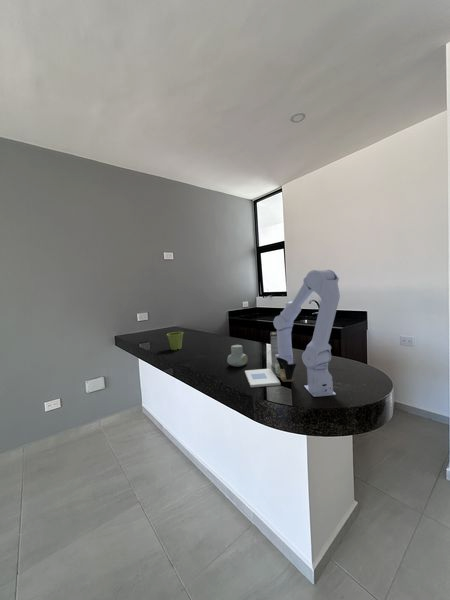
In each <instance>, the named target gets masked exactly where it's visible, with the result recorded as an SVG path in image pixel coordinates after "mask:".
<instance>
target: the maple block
mask: <svg viewBox="0 0 450 600" xmlns="http://www.w3.org/2000/svg"><path fill="white" fill-rule="evenodd" d="M279 375H280V380H281V381H282V382H283V383H286V382H293V381H294V377H292V380H287V379H286V376H285V371H284V369H280V374H279Z"/></svg>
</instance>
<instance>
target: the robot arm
mask: <svg viewBox="0 0 450 600" xmlns="http://www.w3.org/2000/svg"><path fill="white" fill-rule="evenodd" d="M339 279H340V278H339V276H338V275H337V274H336V273H335V272H334V271H333V270H331V269H326V270H318V269H317V270H316V269H312V270H310V271H308V273H306V276H305V277H304V278H303V282H302V285H301V287H300V288H299V290H298V292H297V293H296V295H295V297H294V298H293V301H289V302H287V303H286V304H285V307H284V309H283V310H282V311H280V314H279V315H277V316H275V317H274V319H273V326H274V329H276V332H277V341H278V355H276V359H277V361H278V363H279V366H280V369H284V371H285V376H286V379H287V380H292V377H293V375H294V370H295V369H296V366H297V362H296V361H294V359H293V358H294V354H293V347H292V346H293V345H292V332H293V327H294V324H295V323H294V321H295V320H296V319H297V317H298V315H299V314H300V313H301V311H302V307H301V306H302V305H303V304H304V302H306V300H307V299H308V298H309V297H310V296H311V294H313V292H314V293H316V294H317V295H318V296H319V298H320V299H321V300H320V305H319V307H318V314H317V317H316V321H315V326H314V331H313V335H312V338H311V341H310V342H309V343H308V344H307V345H306V348H305V350H304V351H303V352H302V354H301V360H302V362H303V364H304V365H305V368H306V372H307V373H306V375H307V376H306V377H307V385H304V386H303V387H304V388H305V389H306V390H307V391H308V392H309V394H311V396H313V398H314V397H316V398H317V397H327V396H336V395H337V394H336V392H335V391H334V386H333V384H334V383H333V376H332V374H331V373H330V372H329V363H330V361H331V360H332V352H331V350H332V346H331V344H330V343H329V341H330V338H331V333H332V329H333V325H334V321H335V319H336V318H335V317H336V313H337V309H338V305H339V302H340V299H341V297H340V296H341V295H340V290H339V284H338V283H339ZM293 378H294V377H293Z"/></svg>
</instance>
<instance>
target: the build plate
mask: <svg viewBox="0 0 450 600" xmlns="http://www.w3.org/2000/svg"><path fill="white" fill-rule="evenodd" d="M244 374H245V377H246V380H247V382H248V384H249V387H250V388H260V387H272V386H273V387H274V386H281V382H280V380H279V378H278V377H277V375H276V373H274V372H273V371H272V369H271V368H259V369H248V370H244Z"/></svg>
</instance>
